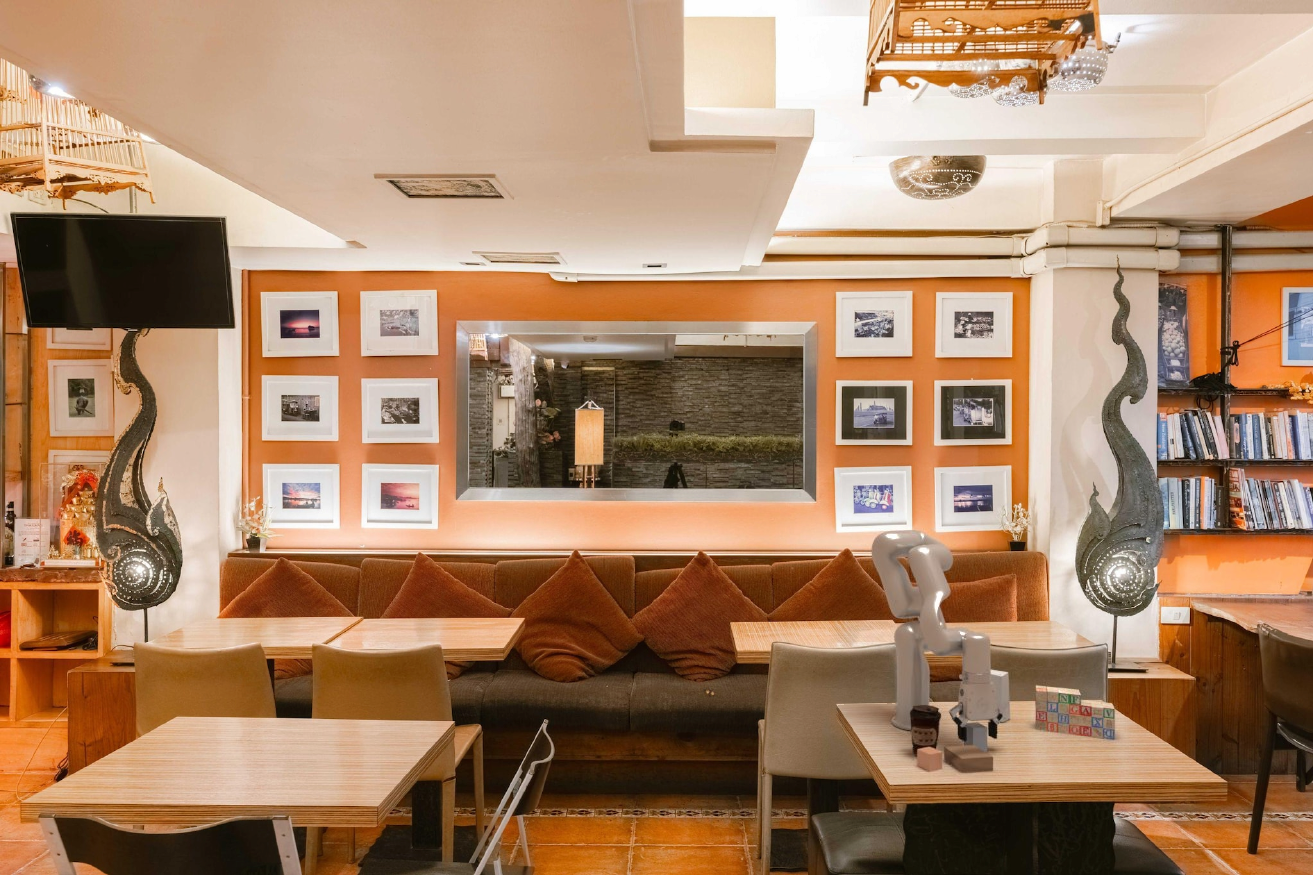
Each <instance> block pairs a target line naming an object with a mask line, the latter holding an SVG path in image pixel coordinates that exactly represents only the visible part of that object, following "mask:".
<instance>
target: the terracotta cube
mask: <svg viewBox="0 0 1313 875" xmlns="http://www.w3.org/2000/svg"><path fill="white" fill-rule="evenodd" d="M916 758H917V759H916V763H917V764H916V766H917V767H919V768H921V769H924V770H926V771H928V772H933V771H938V770H942V769H943V751H941V750H938V749H937V748H936V749H934V748H932V747H925V748H921V749H917V755H916Z"/></svg>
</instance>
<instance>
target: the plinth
mask: <svg viewBox="0 0 1313 875" xmlns="http://www.w3.org/2000/svg"><path fill="white" fill-rule="evenodd" d="M943 749H944V751H943V754H944V755H943V760H944V761H945V762H946V763H947V764H949V765H950V766H952V767H953V768H954V769H956V770H957V771H959V772H960V773H962V774H964V773H965V774H966V773H980V772H993V771H994V756H993V755H991V754H990V753H988V752H985V751H983V750H981V749H980V748H978V747H977V746H975V745H967V746H963V745H956V746H955V745H953V746H952V745H951V746H950V745H949V746H944V748H943Z"/></svg>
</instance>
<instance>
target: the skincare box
mask: <svg viewBox="0 0 1313 875" xmlns="http://www.w3.org/2000/svg"><path fill="white" fill-rule="evenodd" d="M1009 678H1010V677H1009V672H1008V671H1002V670H995V669H991V682H993V683H994V687H995V691H996V697H997V704H999V705H1001V706H1003V707H1005V711H1004V713H1003V717H1002V718H1001V720H1000V721H999V723H1004V722H1006V721H1009V720H1011V703H1010V680H1009Z"/></svg>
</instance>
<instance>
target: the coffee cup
mask: <svg viewBox="0 0 1313 875" xmlns="http://www.w3.org/2000/svg"><path fill="white" fill-rule="evenodd" d="M939 710H940V709H939V708H938V707H936V706H934V705H930V704H929V705H918V706H913V709H912V710H911V711H910V718H911V732H910V733H911V744H912V754H913V755H914V756H917V749H921V748H925V747H932V748H934V749H936V750H937V746H938V739H939V734H940V721H941V719H942V713H941V712H940V711H939Z"/></svg>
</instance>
